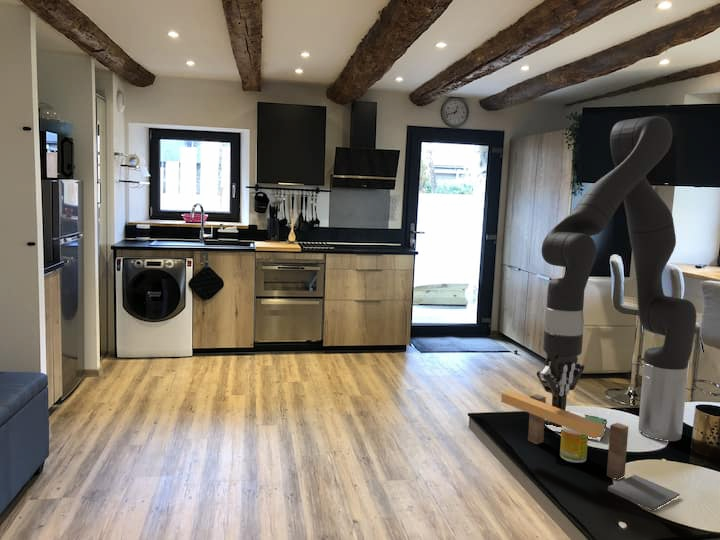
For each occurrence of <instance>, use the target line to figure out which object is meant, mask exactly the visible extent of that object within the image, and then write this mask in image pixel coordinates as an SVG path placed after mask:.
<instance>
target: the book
mask: <svg viewBox="0 0 720 540" xmlns="http://www.w3.org/2000/svg"><path fill="white" fill-rule="evenodd" d="M607 491H608V492H609V493H612V494H614V495H617V496H619V497H620V498H623V499H626V500H627V501H629V502H631V503H634V504H636V505H638V504H640V505H642V506H644V507H647V508H649V509H651V510H653V511H654V510H655V509H657V508H658V507H660V506H662V505H664V504H666V503H667V502H669V501H671V500H672V499H674V498H676V497H677V496H679V495H680V496H681V494H680V493H679V492H676V491H673V490H671V489H669V488H667V487H664V486H662V485H659V484H658V483H655V482H653V481H650V480H648V479H645V478H643V477H642V476H638V475H636V474H634V475H633V474H632V475H631V476H628V477H627V478H623V479H621V480H618V481H617V482H615V483H613V484H611V485H609V486H608V487H607ZM640 505H639V506H640ZM642 506H641V507H642ZM644 507H643V508H644ZM649 509H648V510H649ZM651 510H650V511H651ZM653 511H652V512H653ZM654 512H655V511H654Z"/></svg>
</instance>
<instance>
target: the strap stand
mask: <svg viewBox="0 0 720 540" xmlns="http://www.w3.org/2000/svg"><path fill="white" fill-rule="evenodd" d="M530 398H532V399H535V400H538V401H541V402H543V403H546V401H547V397H546V396H544V395H540V394H539V393H538V394H537V393H536V394H533V395H530ZM546 404H547V403H546ZM528 416H529V417H528V435H527V440H528V442H531V443H532V444H534V445H539V444H541V443H544V440H545V439H544V438H545V437H544V436H545V430H544V422H545V419H544V418H541V417H539V416H536V415H533V414H531V413H529V415H528ZM609 425H610V427H609V440H608V453H607V465H606V476H607V477H609V478H611V479H613V478H616V479H619V478H621V477H623V476H624V475H626V462H627V452H628V438H629V426H627V425H626V424H625V425H624V424H623V423H620V422H616V423H613V424H609Z"/></svg>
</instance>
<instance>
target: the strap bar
mask: <svg viewBox="0 0 720 540" xmlns="http://www.w3.org/2000/svg"><path fill="white" fill-rule="evenodd" d="M500 402H501V403H503V404H506V405H509V406H511V407H514V408H517V409H519V410H521V411H524V412H526V413H529V414H530V413H531V414H533V415H536V416H539V417H541V418H544V419H546V420H549V421H551V422H554V423H556V424H559V425H561V426H564V427H566V428H569V429H571V430H574V431H576V432H579V433H582V434H584V435H587V436H589V437H592V438H597V437H600V436H602V437H603V436H604V435H605V432H604V426H605V425H603V424H600V423H598V422H595V421H592V420H589V419H587V418H584V417H581V416H579V415H576V414H573V413H570V412H571V411H569V412H568V411H567V410H566V409H565V410H562V409H560V408H557V407H554V406H552V404H549V403H543V402H541V401H538V400H535V399H532V398H530V397H529V396H527V395H523V394H521V393H520V392H516V391H514V390H509V391H504V392H501V399H500Z"/></svg>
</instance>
